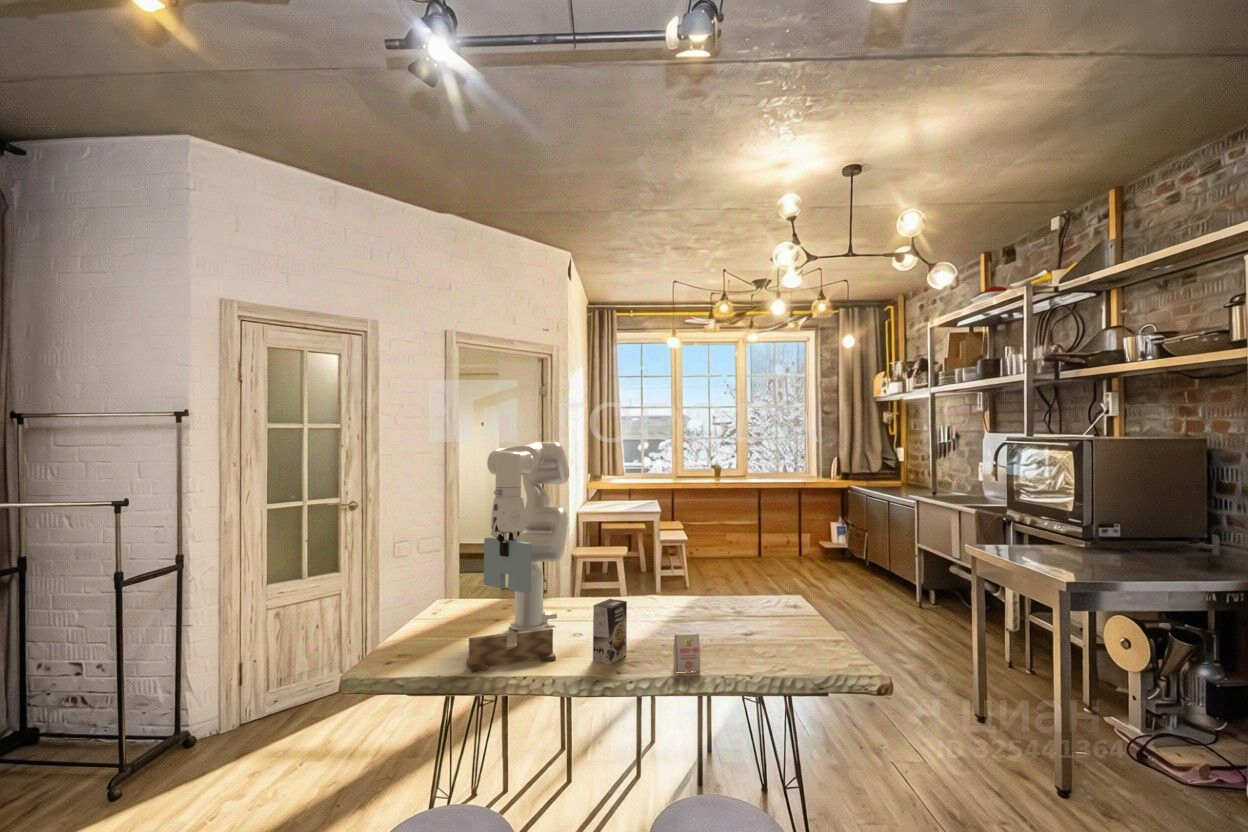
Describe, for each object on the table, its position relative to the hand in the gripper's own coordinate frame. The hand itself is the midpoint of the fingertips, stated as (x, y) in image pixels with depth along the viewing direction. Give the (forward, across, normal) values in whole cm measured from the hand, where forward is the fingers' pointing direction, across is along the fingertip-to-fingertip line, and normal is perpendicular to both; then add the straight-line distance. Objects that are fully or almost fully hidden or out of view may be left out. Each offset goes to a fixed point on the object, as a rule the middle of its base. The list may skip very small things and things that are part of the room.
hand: (507, 555), depth 181 cm
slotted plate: (+10, 0, 0) cm, 10 cm away
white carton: (+30, +23, -48) cm, 61 cm away
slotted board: (+30, -2, -4) cm, 30 cm away
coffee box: (+30, +17, -25) cm, 43 cm away
